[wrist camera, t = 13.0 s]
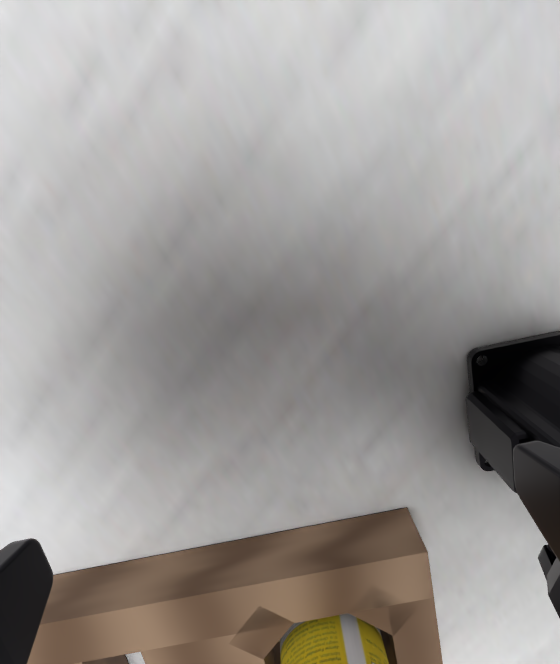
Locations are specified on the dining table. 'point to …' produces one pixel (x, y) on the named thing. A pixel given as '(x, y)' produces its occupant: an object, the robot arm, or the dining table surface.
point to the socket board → (247, 597)
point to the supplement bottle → (333, 642)
